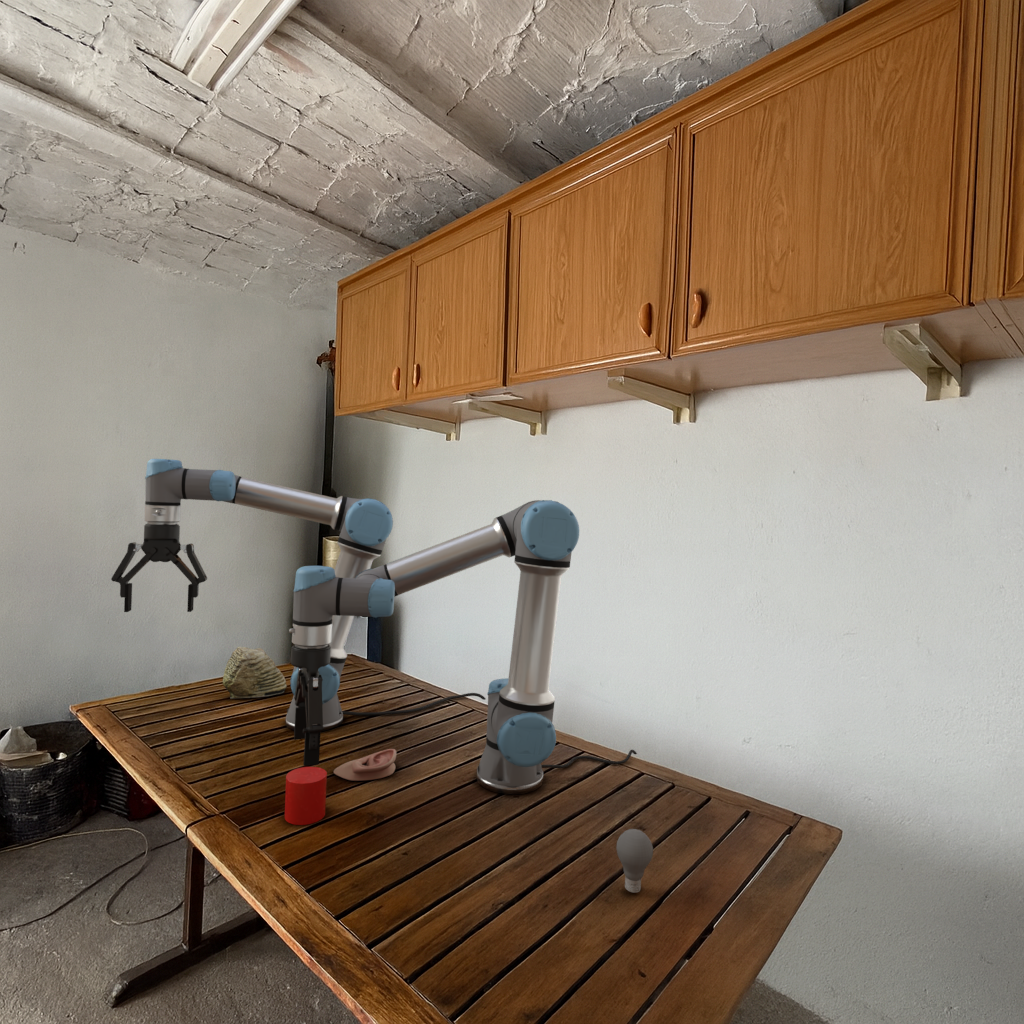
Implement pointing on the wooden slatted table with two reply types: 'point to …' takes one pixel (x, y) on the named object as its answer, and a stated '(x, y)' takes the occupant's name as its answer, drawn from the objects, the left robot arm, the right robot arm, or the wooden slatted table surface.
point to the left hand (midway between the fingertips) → (159, 611)
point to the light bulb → (634, 857)
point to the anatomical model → (369, 766)
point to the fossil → (252, 674)
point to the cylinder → (305, 795)
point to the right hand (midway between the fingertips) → (305, 751)
